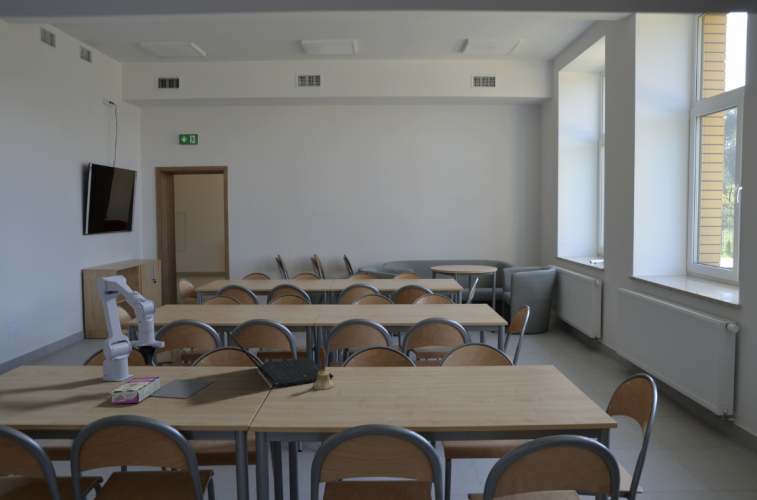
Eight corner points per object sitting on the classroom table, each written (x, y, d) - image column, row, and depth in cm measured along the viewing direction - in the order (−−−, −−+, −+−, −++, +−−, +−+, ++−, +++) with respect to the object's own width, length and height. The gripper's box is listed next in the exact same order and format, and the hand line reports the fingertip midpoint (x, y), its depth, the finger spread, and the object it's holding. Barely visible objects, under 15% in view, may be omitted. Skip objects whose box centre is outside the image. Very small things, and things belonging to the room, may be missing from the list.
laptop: (334, 380, 221) (332, 333, 219) (241, 395, 205) (239, 345, 204) (309, 360, 251) (308, 319, 250) (227, 372, 236) (225, 329, 234)
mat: (144, 396, 207) (144, 395, 207) (175, 379, 226) (175, 378, 226) (185, 398, 203) (185, 397, 203) (214, 381, 222) (214, 380, 222)
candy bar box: (135, 390, 216) (110, 404, 199) (134, 377, 215) (109, 391, 199) (161, 388, 214) (139, 402, 198) (160, 376, 214) (137, 389, 198)
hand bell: (337, 387, 211) (336, 348, 208) (317, 391, 207) (316, 351, 204) (329, 380, 218) (327, 342, 216) (309, 384, 214) (308, 345, 212)
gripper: (124, 332, 214) (126, 366, 215) (155, 333, 210) (157, 367, 212) (136, 328, 221) (138, 361, 222) (166, 329, 217) (168, 362, 218)
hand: (148, 364), depth 217 cm, fingers closed
